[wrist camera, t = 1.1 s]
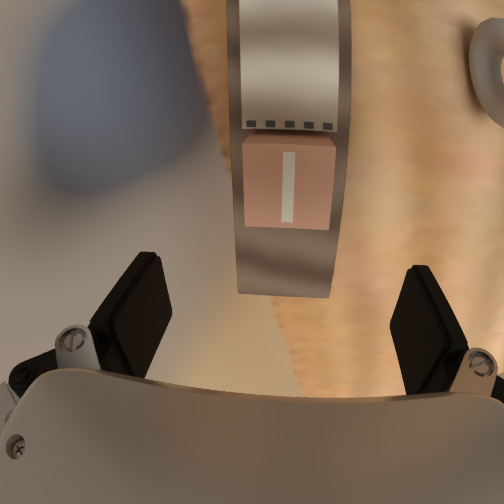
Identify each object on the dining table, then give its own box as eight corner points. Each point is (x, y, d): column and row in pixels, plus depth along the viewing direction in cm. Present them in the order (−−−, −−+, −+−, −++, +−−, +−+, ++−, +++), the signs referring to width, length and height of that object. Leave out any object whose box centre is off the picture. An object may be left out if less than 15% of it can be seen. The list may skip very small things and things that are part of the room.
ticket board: (228, -54, 15) (218, -72, 12) (343, -52, 14) (351, -70, 11) (239, 287, 34) (233, 312, 31) (328, 292, 33) (331, 318, 30)
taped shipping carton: (253, 129, 24) (242, 143, 18) (325, 132, 23) (336, 147, 18) (254, 196, 27) (244, 226, 22) (321, 199, 26) (328, 230, 21)
